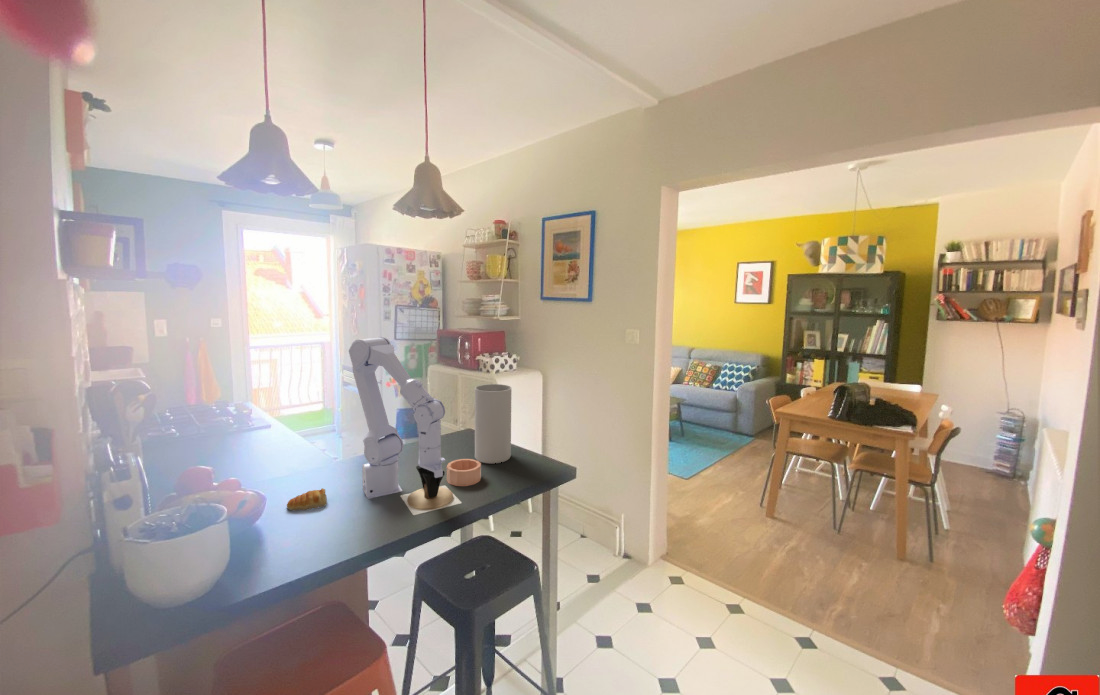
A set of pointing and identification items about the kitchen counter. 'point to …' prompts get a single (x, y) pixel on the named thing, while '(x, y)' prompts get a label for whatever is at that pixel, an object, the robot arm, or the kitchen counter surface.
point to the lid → (429, 499)
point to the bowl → (463, 472)
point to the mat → (419, 511)
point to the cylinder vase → (492, 423)
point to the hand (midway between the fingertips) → (430, 493)
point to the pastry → (308, 500)
